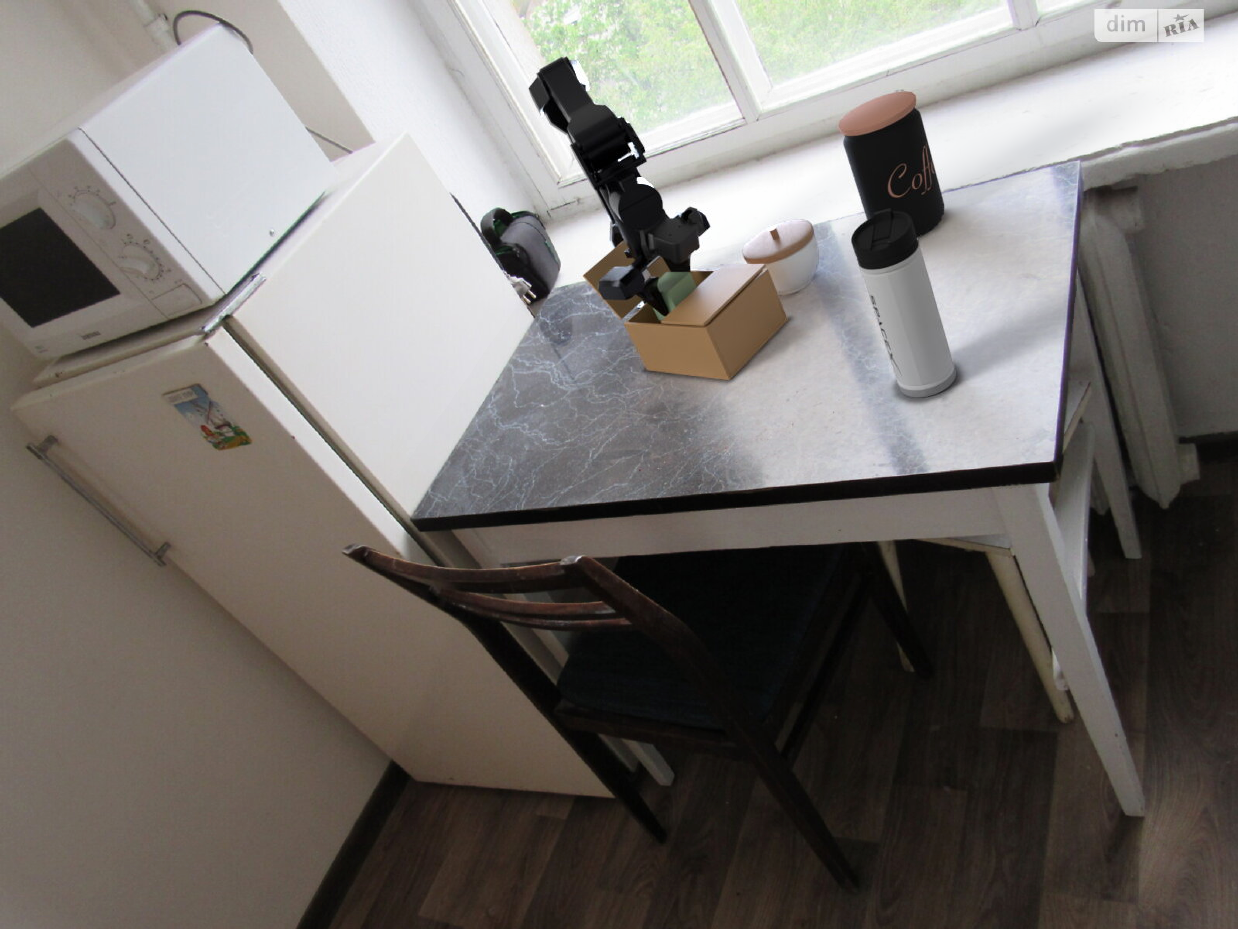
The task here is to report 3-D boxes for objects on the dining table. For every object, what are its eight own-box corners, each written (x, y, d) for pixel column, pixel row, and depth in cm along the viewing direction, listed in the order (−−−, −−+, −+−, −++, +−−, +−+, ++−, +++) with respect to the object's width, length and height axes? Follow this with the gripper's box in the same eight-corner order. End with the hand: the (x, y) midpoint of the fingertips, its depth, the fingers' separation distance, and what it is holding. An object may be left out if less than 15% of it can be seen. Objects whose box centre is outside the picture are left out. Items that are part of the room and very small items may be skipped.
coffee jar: (907, 250, 123) (871, 131, 114) (858, 240, 132) (822, 129, 123) (963, 210, 125) (932, 89, 115) (911, 203, 134) (879, 90, 124)
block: (658, 320, 127) (644, 291, 125) (679, 300, 129) (666, 272, 127) (682, 321, 124) (668, 292, 121) (703, 301, 126) (690, 271, 123)
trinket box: (825, 255, 133) (805, 200, 128) (832, 286, 125) (811, 228, 120) (758, 280, 137) (737, 228, 132) (761, 312, 128) (738, 257, 123)
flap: (621, 319, 125) (620, 320, 126) (680, 265, 131) (679, 266, 131) (583, 274, 124) (582, 275, 125) (644, 222, 130) (643, 223, 130)
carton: (647, 370, 130) (620, 319, 125) (703, 315, 136) (680, 264, 131) (729, 380, 117) (703, 323, 112) (788, 319, 123) (765, 263, 118)
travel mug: (957, 358, 99) (913, 200, 88) (955, 392, 94) (908, 230, 84) (901, 368, 102) (852, 217, 92) (897, 402, 97) (845, 247, 87)
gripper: (626, 245, 108) (676, 346, 116) (716, 168, 116) (757, 268, 124) (573, 247, 116) (623, 342, 125) (660, 175, 124) (702, 269, 132)
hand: (678, 305), depth 126 cm, fingers closed on block, 5 cm apart
